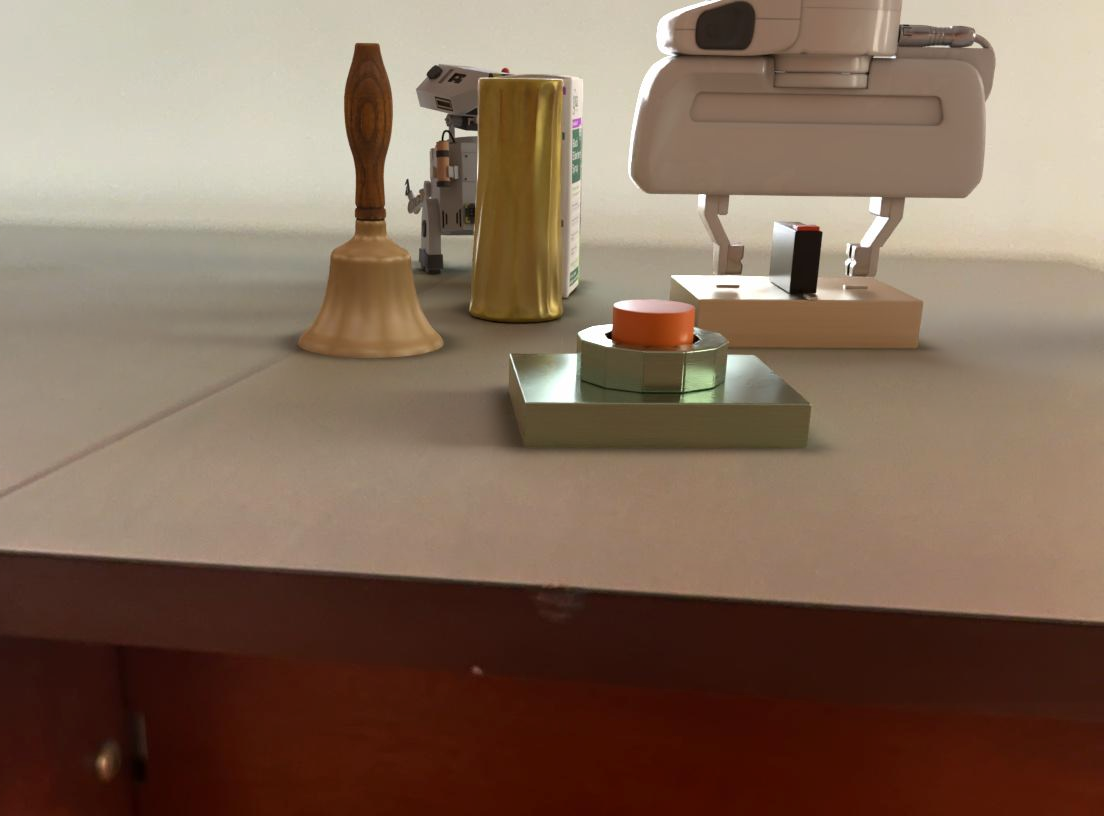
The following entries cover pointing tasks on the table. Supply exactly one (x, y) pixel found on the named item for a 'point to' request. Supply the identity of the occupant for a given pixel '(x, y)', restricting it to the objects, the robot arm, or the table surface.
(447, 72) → the figurine
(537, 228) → the vase
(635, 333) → the button
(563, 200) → the syrup box
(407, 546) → the table surface
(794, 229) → the black battery pack
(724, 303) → the tan slotted base
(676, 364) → the button box
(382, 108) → the hand bell
